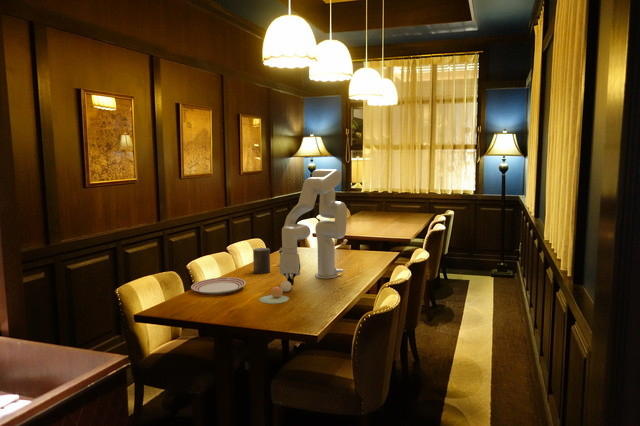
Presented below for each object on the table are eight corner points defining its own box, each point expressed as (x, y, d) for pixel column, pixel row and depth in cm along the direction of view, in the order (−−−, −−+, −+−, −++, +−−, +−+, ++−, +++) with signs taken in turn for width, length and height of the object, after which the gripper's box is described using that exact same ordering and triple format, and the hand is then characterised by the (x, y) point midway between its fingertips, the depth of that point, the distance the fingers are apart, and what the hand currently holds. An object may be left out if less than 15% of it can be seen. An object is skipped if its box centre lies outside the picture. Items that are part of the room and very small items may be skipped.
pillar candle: (267, 274, 290) (266, 248, 289) (251, 273, 292) (250, 248, 291) (272, 270, 300) (271, 245, 298) (256, 270, 302) (256, 245, 300)
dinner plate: (220, 300, 240) (219, 293, 239) (179, 292, 254) (179, 286, 254) (256, 287, 263) (256, 281, 262) (217, 281, 277) (217, 275, 277)
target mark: (286, 294, 247) (286, 294, 247) (291, 302, 233) (291, 301, 233) (257, 296, 244) (257, 296, 244) (260, 304, 230) (260, 304, 230)
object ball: (278, 282, 241) (274, 291, 237) (286, 289, 243) (282, 298, 239) (271, 286, 244) (267, 294, 240) (278, 292, 246) (275, 301, 242)
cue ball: (285, 280, 249) (284, 291, 248) (294, 281, 252) (293, 292, 251) (278, 280, 253) (277, 291, 252) (287, 280, 256) (286, 291, 255)
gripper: (273, 251, 254) (274, 286, 256) (300, 252, 249) (301, 288, 251) (279, 248, 261) (280, 283, 263) (306, 250, 256) (306, 285, 258)
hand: (290, 285), depth 257 cm, fingers closed
